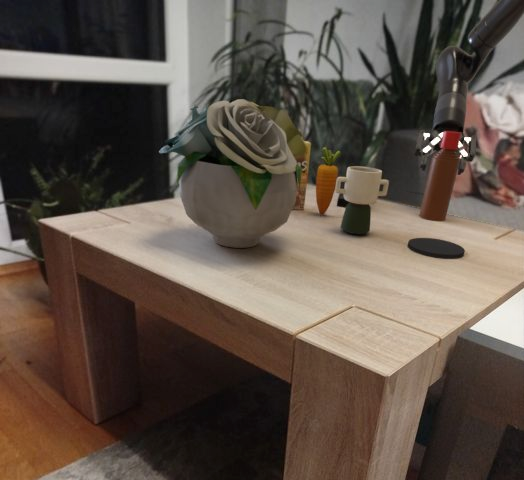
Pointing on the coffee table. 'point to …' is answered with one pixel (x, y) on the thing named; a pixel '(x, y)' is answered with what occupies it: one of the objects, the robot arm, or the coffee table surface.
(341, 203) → the vhs tape
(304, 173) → the candy box
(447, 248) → the coaster
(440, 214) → the bottle
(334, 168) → the carrot
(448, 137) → the cap
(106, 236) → the coffee table surface
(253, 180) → the flower arrangement
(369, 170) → the cream green handled vessel
